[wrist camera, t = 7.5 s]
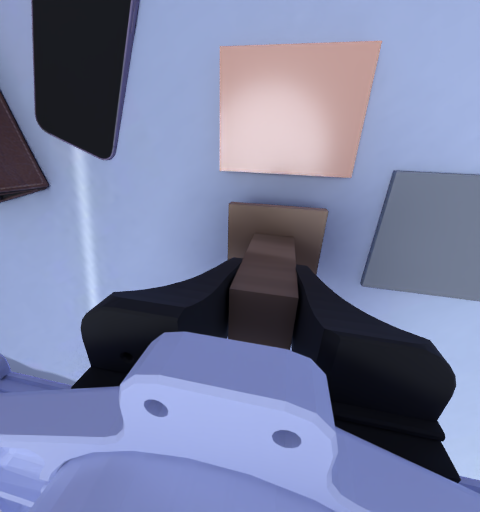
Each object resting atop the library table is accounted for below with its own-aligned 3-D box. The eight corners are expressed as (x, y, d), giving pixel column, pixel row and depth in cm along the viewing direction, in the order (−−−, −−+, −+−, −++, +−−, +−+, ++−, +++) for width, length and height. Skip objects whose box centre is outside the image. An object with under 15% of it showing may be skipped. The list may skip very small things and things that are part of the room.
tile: (351, 177, 15) (382, 40, 12) (219, 170, 17) (219, 46, 14) (344, 175, 17) (370, 55, 14) (226, 169, 18) (227, 58, 15)
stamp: (310, 291, 16) (327, 390, 9) (229, 281, 17) (190, 363, 10) (326, 208, 14) (364, 257, 7) (231, 201, 15) (181, 239, 8)
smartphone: (34, 126, 19) (24, -170, 12) (46, 128, 20) (44, -146, 13) (112, 165, 19) (147, -110, 12) (120, 164, 20) (158, -90, 13)
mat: (482, 298, 18) (486, 302, 18) (360, 283, 19) (362, 286, 19) (550, 178, 14) (558, 179, 14) (393, 170, 16) (396, 171, 15)
